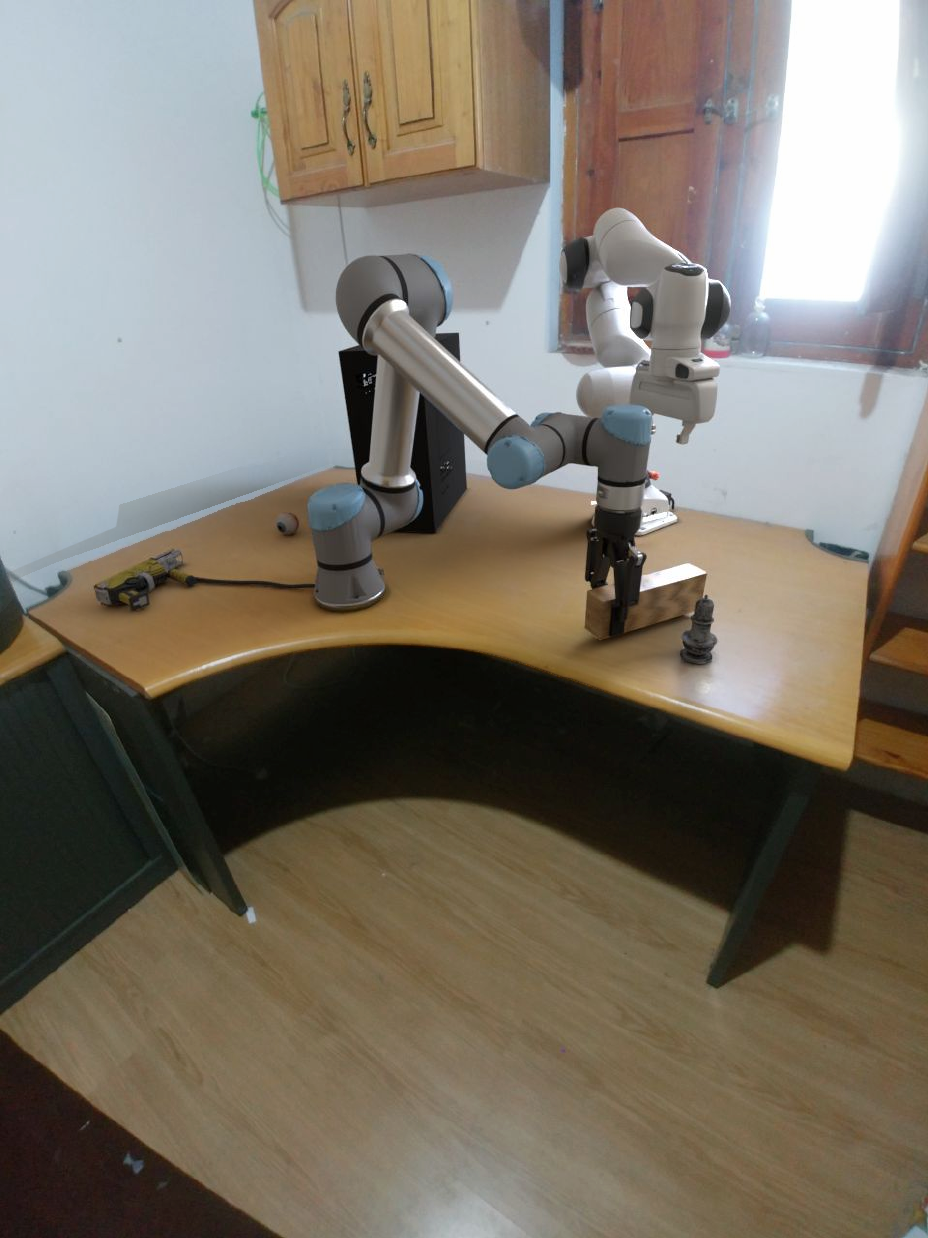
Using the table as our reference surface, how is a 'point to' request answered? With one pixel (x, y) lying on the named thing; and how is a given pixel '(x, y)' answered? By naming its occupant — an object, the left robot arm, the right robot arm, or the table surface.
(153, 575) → the toy gun
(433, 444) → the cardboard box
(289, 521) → the eyeball
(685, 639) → the dark grey piece
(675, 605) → the bar
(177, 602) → the table surface
